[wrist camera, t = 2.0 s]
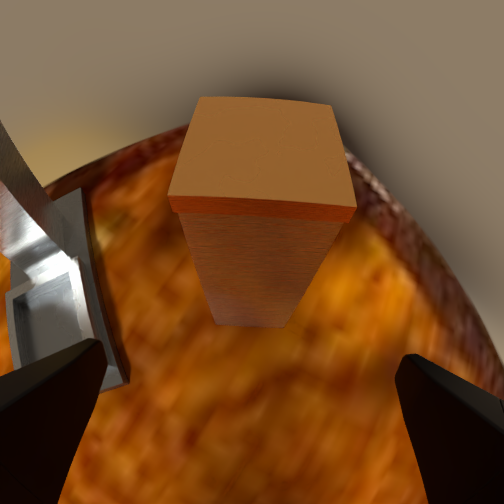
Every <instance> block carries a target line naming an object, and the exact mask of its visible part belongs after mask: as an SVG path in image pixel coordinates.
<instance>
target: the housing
mask: <svg viewBox="0 0 504 504" xmlns="http://www.w3.org/2000/svg"><path fill="white" fill-rule="evenodd" d="M0 252H1V253H2V254H3V255H5V256H6V257H7V258H8V259H9V260H11V290H10V291H8V292H6V293H5V295H6V312H7V323H8V332H9V340H10V347H11V354H12V360H13V365H14V370H17V369H19V368H21V367H24V366H26V365H28V364H30V363H33V362H35V361H37V360H40V359H42V358H44V357H46V356H49V355H51V354H53V353H56V352H58V351H60V350H62V349H65V348H67V347H69V346H71V345H74V344H76V343H78V342H80V341H83V340H85V339H87V338H94V339H99V340H101V341H102V343H103V346H104V350H105V354H106V357H107V361H108V367H107V371H106V374H105V377H104V380H103V383H102V386H101V389H100V392H99V394H100V393H103V392H106V391H109V390H112V389H115V388H118V387H121V386H124V385H127V384H129V381H128V379H127V376H126V373H125V371H124V368H123V365H122V362H121V359H120V356H119V353H118V350H117V347H116V344H115V341H114V338H113V334H112V331H111V327H110V324H109V320H108V317H107V313H106V309H105V305H104V302H103V297H102V293H101V289H100V285H99V280H98V276H97V271H96V266H95V261H94V255H93V250H92V244H91V237H90V231H89V224H88V216H87V208H86V198H85V193H84V192H83V190H82V188H81V187H80V188H78V189H76V190H74V191H72V192H70V193H68V194H66V195H65V196H63V197H61V198H59V199H57V200H55V201H52V200H51V198H50V197H49V196H48V194H47V193H46V192H45V190H44V189H43V187H42V186H41V185H40V183H39V182H38V180H37V179H36V177H35V176H34V175H33V173H32V172H31V170H30V168H29V167H28V166H27V164H26V162H25V161H24V159H23V158H22V156H21V155H20V153H19V151H18V150H17V148H16V146H15V145H14V143H13V142H12V140H11V138H10V136H9V135H8V133H7V131H6V130H5V128H4V126H3V124H2V122H1V120H0Z"/></svg>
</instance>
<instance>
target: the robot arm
mask: <svg viewBox="0 0 504 504" xmlns="http://www.w3.org/2000/svg"><path fill="white" fill-rule="evenodd" d="M107 367H108V361H107V357H106V354H105V350H104V346H103V343H102V341H101V340H99V339H94V338H87V339H85V340H83V341H80V342H78V343H76V344H74V345H71V346H69V347H67V348H65V349H62V350H60V351H58V352H56V353H53V354H51V355H49V356H46V357H44V358H42V359H40V360H37V361H35V362H33V363H30V364H28V365H26V366H24V367H21V368H19V369H17V370H14V371H12V372H10V373H7V374H5V375H3V376H0V504H58V500H59V497H60V494H61V491H62V489H63V486H64V483H65V480H66V477H67V474H68V472H69V469H70V466H71V464H72V461H73V458H74V456H75V453H76V451H77V448H78V446H79V443H80V441H81V438H82V436H83V433H84V431H85V429H86V426H87V424H88V422H89V419H90V417H91V415H92V412H93V410H94V407H95V404H96V402H97V398H98V395H99V392H100V389H101V386H102V383H103V380H104V377H105V374H106V371H107ZM395 384H396V388H397V392H398V396H399V401H400V405H401V409H402V414H403V418H404V421H405V425H406V428H407V431H408V434H409V437H410V440H411V443H412V446H413V449H414V453H415V456H416V459H417V463H418V466H419V469H420V473H421V477H422V480H423V484H424V488H425V491H426V495H427V499H428V504H504V401H503V400H502V399H499V398H498V397H496V396H494V395H492V394H490V393H488V392H486V391H485V390H483V389H481V388H479V387H477V386H475V385H473V384H471V383H470V382H468V381H466V380H464V379H462V378H460V377H458V376H457V375H455V374H453V373H451V372H449V371H447V370H446V369H444V368H442V367H440V366H438V365H436V364H435V363H433V362H431V361H429V360H427V359H425V358H424V357H422V356H420V355H418V354H406V355H404V356H403V358H402V360H401V362H400V365H399V367H398V370H397V372H396V375H395Z"/></svg>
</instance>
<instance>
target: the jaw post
mask: <svg viewBox="0 0 504 504" xmlns="http://www.w3.org/2000/svg"><path fill="white" fill-rule="evenodd" d="M167 196H168V199H169V202H170V205H171V209H172V212H173V213H178V216H179V219H180V222H181V225H182V228H183V232H184V235H185V238H186V241H187V244H188V247H189V250H190V253H191V256H192V259H193V262H194V265H195V268H196V271H197V273H198V276H199V279H200V282H201V285H202V288H203V290H204V293H205V296H206V299H207V302H208V304H209V307H210V310H211V312H212V315H213V318H214V320H215V323H216V324H219V325H233V326H250V327H271V328H284V326H285V325H286V323H287V321H288V320H289V318H290V316H291V315H292V313H293V311H294V310H295V308H296V307H297V305H298V303H299V302H300V300H301V298H302V296H303V295H304V293H305V291H306V290H307V288H308V286H309V285H310V283H311V281H312V279H313V278H314V276H315V274H316V272H317V271H318V269H319V267H320V265H321V264H322V262H323V260H324V258H325V256H326V255H327V253H328V251H329V249H330V247H331V245H332V244H333V242H334V240H335V238H336V236H337V234H338V232H339V231H340V229H341V227H342V225H343V223H349V221H350V220H351V218H352V216H353V214H354V212H355V210H356V208H357V204H356V199H355V194H354V190H353V185H352V181H351V176H350V172H349V168H348V164H347V160H346V156H345V152H344V148H343V144H342V141H341V137H340V134H339V130H338V127H337V123H336V120H335V117H334V113H333V110H332V107H331V106H330V105H323V104H316V103H309V102H300V101H291V100H280V99H267V98H249V97H200V99H199V101H198V104H197V106H196V109H195V112H194V114H193V117H192V120H191V123H190V125H189V128H188V131H187V134H186V137H185V140H184V143H183V146H182V149H181V152H180V155H179V158H178V161H177V164H176V167H175V171H174V174H173V177H172V181H171V184H170V187H169V191H168V194H167Z"/></svg>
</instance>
